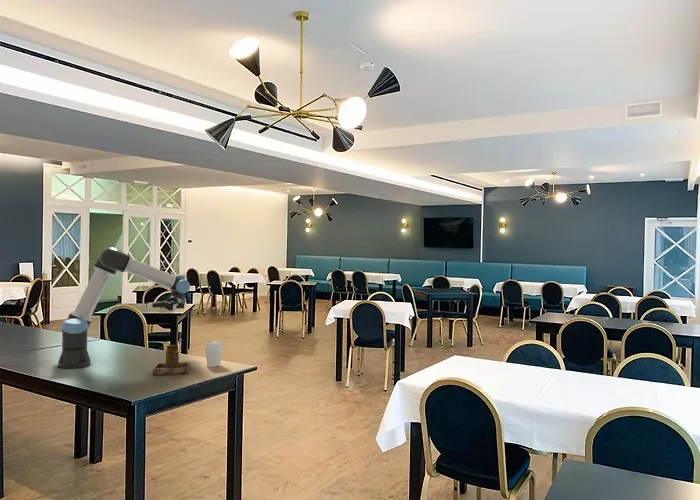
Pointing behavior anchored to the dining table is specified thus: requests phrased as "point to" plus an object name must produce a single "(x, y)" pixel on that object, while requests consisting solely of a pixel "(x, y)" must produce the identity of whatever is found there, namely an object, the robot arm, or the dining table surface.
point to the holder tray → (170, 369)
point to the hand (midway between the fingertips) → (160, 307)
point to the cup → (213, 353)
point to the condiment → (172, 356)
